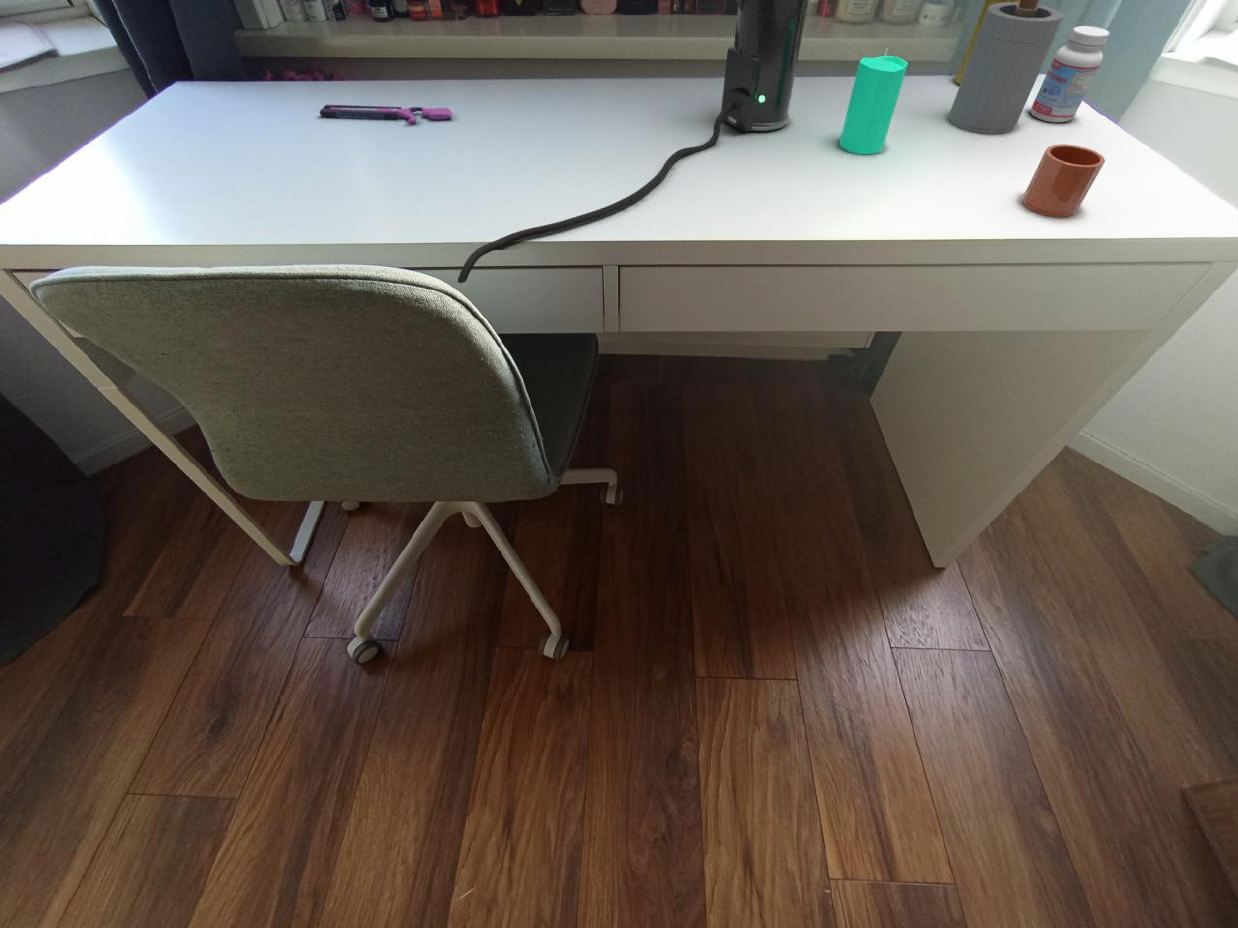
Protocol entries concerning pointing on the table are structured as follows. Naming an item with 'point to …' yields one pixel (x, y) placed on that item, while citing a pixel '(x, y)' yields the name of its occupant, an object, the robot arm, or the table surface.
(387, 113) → the pink toy gun
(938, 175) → the table surface
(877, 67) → the candle
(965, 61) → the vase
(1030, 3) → the bottle brush
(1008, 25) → the gray cylindrical container
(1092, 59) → the pill bottle
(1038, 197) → the holder
